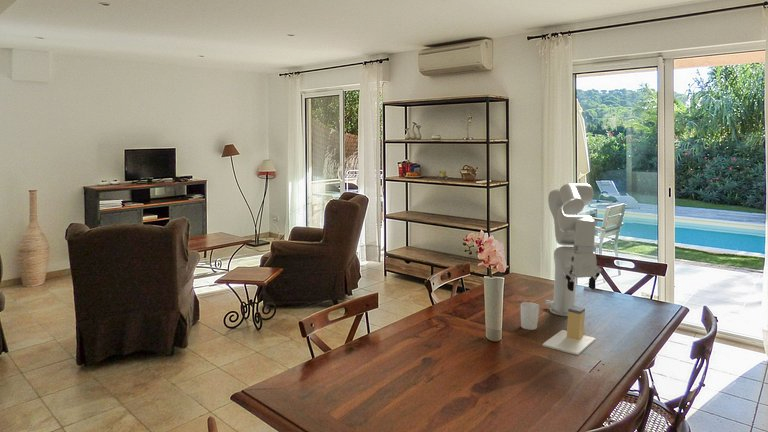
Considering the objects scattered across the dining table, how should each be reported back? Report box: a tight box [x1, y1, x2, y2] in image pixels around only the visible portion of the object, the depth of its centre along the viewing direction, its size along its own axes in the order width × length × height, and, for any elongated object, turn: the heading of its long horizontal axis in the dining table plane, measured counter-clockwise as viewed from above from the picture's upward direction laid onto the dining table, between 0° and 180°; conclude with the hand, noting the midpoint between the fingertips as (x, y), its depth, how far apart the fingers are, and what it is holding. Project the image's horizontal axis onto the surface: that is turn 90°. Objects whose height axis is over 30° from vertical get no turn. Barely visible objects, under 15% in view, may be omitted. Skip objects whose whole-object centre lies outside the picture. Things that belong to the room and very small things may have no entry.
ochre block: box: [566, 305, 586, 340], centre depth 209 cm, size 5×5×12 cm
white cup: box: [520, 301, 540, 331], centre depth 222 cm, size 8×8×10 cm
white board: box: [542, 329, 597, 356], centre depth 206 cm, size 14×20×1 cm
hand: (581, 289), depth 211 cm, fingers open, 9 cm apart
